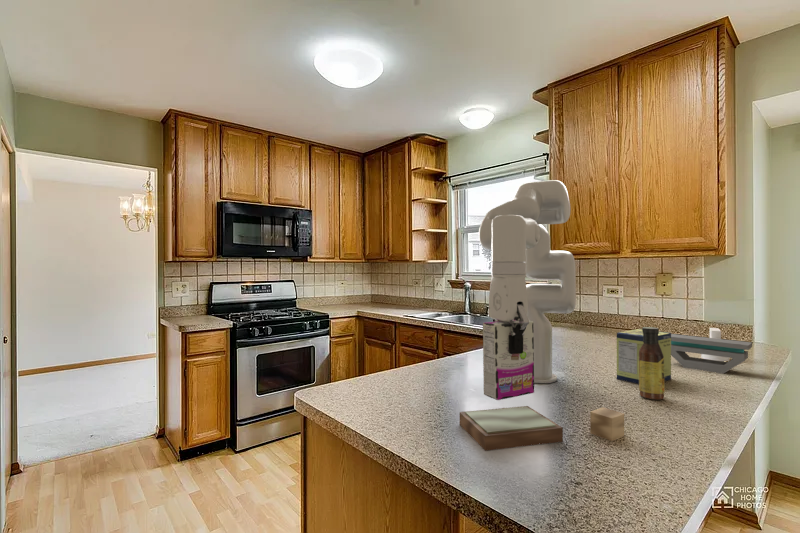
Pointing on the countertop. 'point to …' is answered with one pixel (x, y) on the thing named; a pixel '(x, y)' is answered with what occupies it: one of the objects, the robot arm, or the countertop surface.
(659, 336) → the protein box
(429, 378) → the countertop surface
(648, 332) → the sauce bottle
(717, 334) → the base with upright slab
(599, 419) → the oak block
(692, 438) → the countertop surface
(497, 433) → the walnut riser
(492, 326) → the candy bar box
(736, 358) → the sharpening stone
